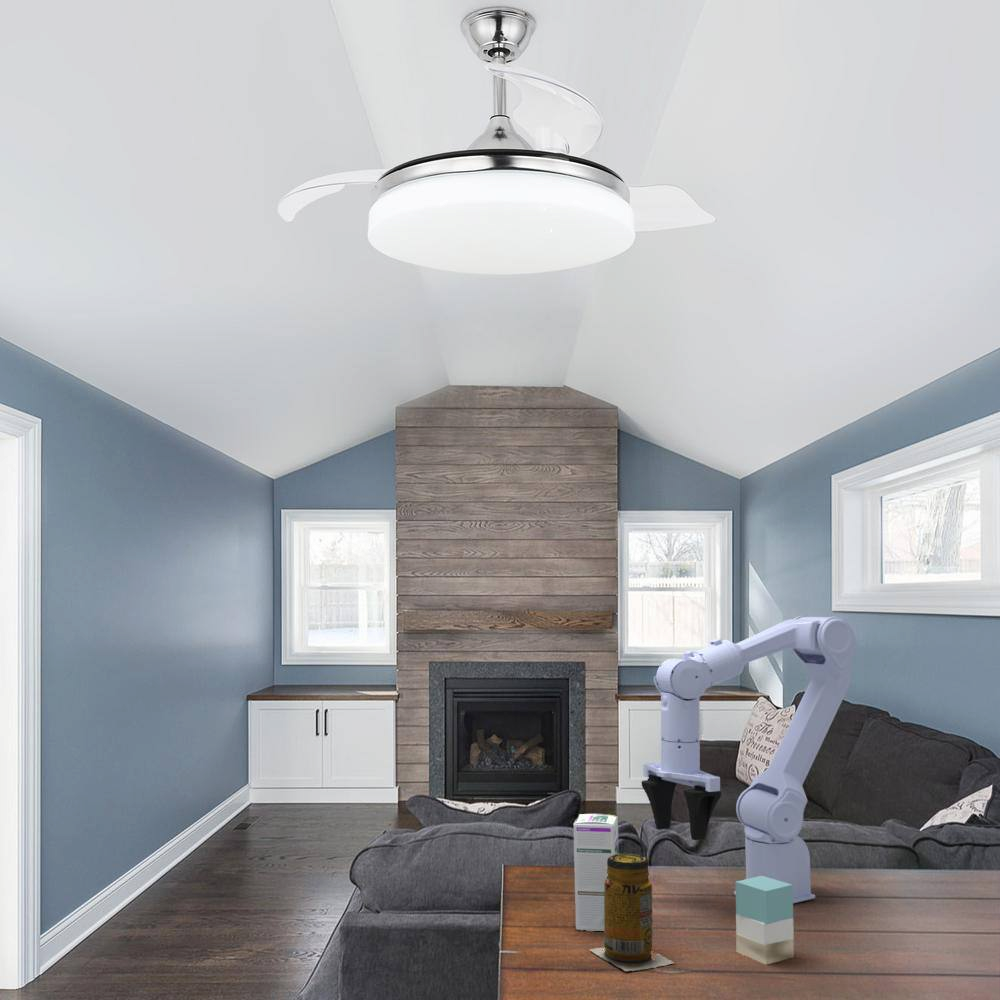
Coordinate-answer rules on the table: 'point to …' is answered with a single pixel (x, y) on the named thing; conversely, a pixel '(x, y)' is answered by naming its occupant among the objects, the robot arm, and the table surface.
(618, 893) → the condiment
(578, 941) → the table surface
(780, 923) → the white brick
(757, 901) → the teal brick
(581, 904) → the syrup box
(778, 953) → the maple brick
